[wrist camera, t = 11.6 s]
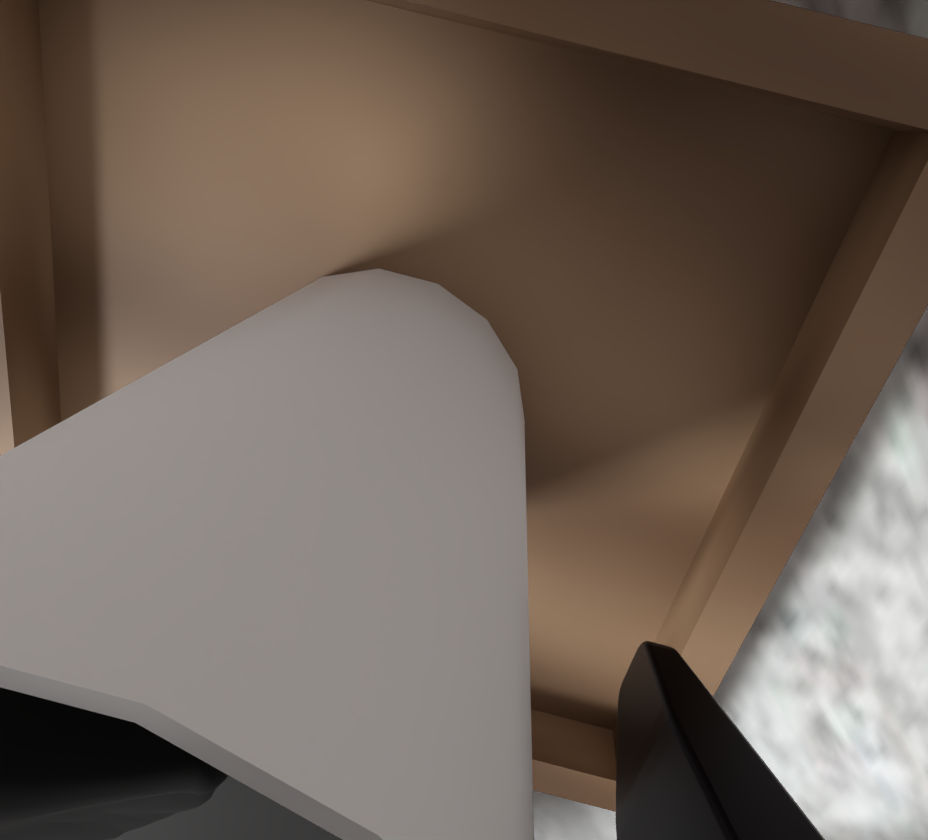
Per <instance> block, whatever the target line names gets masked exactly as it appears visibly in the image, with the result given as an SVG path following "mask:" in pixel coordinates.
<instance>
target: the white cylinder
mask: <svg viewBox="0 0 928 840" xmlns="http://www.w3.org/2000/svg"><path fill="white" fill-rule="evenodd" d="M0 840H534V824H533V780H532V735H531V691H530V647H529V602H528V558H527V514H526V469H525V420H524V413H523V406H522V398H521V391H520V384H519V377H518V370H517V368H516V366H515V364H514V363H513V361H512V360H511V358H510V356H509V355H508V353H507V351H506V350H505V348H504V347H503V345H502V343H501V342H500V340H499V338H498V337H497V335H496V333H495V332H494V330H493V329H492V327H491V325H490V324H489V322H488V320H487V319H485V318H484V317H483V316H481V315H480V314H479V313H477V312H476V311H474V310H473V309H472V308H470V307H469V306H468V305H466V304H465V303H464V302H462V301H461V300H460V299H458V298H457V297H455V296H454V295H453V294H451V293H450V292H449V291H447V290H446V289H445V288H443V287H442V286H440V285H439V284H437V283H433V282H430V281H426V280H422V279H418V278H414V277H410V276H406V275H402V274H399V273H395V272H391V271H387V270H383V269H372V270H365V271H358V272H352V273H345V274H338V275H331V276H324V277H321V278H319V279H318V280H316V281H314V282H312V283H311V284H309V285H307V286H305V287H303V288H302V289H300V290H298V291H296V292H294V293H293V294H291V295H289V296H287V297H285V298H284V299H282V300H280V301H278V302H276V303H275V304H273V305H271V306H269V307H267V308H266V309H264V310H262V311H260V312H258V313H257V314H255V315H253V316H251V317H249V318H247V319H246V320H244V321H242V322H240V323H238V324H237V325H235V326H233V327H231V328H229V329H228V330H226V331H224V332H222V333H220V334H219V335H217V336H215V337H213V338H211V339H210V340H208V341H206V342H204V343H202V344H201V345H199V346H197V347H195V348H193V349H192V350H190V351H188V352H186V353H184V354H183V355H181V356H179V357H177V358H175V359H174V360H172V361H170V362H168V363H166V364H165V365H163V366H161V367H159V368H157V369H156V370H154V371H152V372H150V373H148V374H147V375H145V376H143V377H141V378H139V379H138V380H136V381H134V382H132V383H130V384H129V385H127V386H125V387H123V388H121V389H120V390H118V391H116V392H114V393H112V394H111V395H109V396H107V397H105V398H103V399H102V400H100V401H98V402H96V403H94V404H93V405H91V406H89V407H87V408H85V409H84V410H82V411H80V412H78V413H76V414H75V415H73V416H71V417H69V418H67V419H66V420H64V421H62V422H60V423H58V424H57V425H55V426H53V427H51V428H49V429H48V430H46V431H44V432H42V433H40V434H39V435H37V436H35V437H33V438H31V439H30V440H28V441H26V442H24V443H22V444H21V445H19V446H17V447H15V448H13V449H12V450H10V451H8V452H6V453H4V454H3V455H1V456H0Z"/></svg>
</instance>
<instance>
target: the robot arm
mask: <svg viewBox="0 0 928 840" xmlns="http://www.w3.org/2000/svg"><path fill="white" fill-rule="evenodd" d="M616 833H617V840H825V839H824V838H823V837H822V835H821V834H820V833H819V831H818V830H817V829H816V828H815V826H814V825H813V824H812V823H811V821H810V820H809V819H808V817H807V816H806V815H805V814H804V812H803V811H802V810H801V808H800V807H799V806H798V805H797V803H796V802H795V801H794V799H793V798H792V797H791V796H790V794H789V793H788V792H787V791H786V789H785V788H784V787H783V785H782V784H781V783H780V782H779V780H778V779H777V778H776V776H775V775H774V774H773V773H772V771H771V770H770V769H769V768H768V766H767V765H766V764H765V762H764V761H763V760H762V759H761V757H760V756H759V755H758V753H757V752H756V751H755V750H754V748H753V747H752V746H751V744H750V743H749V742H748V741H747V739H746V738H745V737H744V736H743V734H742V733H741V732H740V730H739V729H738V728H737V727H736V725H735V724H734V723H733V721H732V720H731V719H730V718H729V716H728V715H727V714H726V712H725V711H724V710H723V709H722V707H721V706H720V705H719V704H718V702H717V701H716V700H715V698H714V697H713V696H712V695H711V693H710V692H709V691H708V689H707V688H706V687H705V686H704V684H703V683H702V682H701V681H700V679H699V678H698V677H697V675H696V674H695V673H694V672H693V670H692V669H691V668H690V666H689V665H688V664H687V663H686V661H685V660H684V659H683V657H682V656H681V655H680V654H679V652H678V651H677V650H676V649H674V648H673V647H670V646H666V645H663V644H659V643H655V642H651V641H645V642H642V643H641V644H640V646H639V647H638V649H637V651H636V653H635V655H634V657H633V660H632V662H631V664H630V666H629V668H628V671H627V673H626V675H625V677H624V679H623V682H622V684H621V687H620V691H619V697H618V719H617V763H616Z"/></svg>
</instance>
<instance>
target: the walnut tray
mask: <svg viewBox="0 0 928 840" xmlns="http://www.w3.org/2000/svg"><path fill="white" fill-rule="evenodd" d="M372 269H383V270H387V271H391V272H395V273H399V274H402V275H406V276H410V277H414V278H418V279H422V280H426V281H430V282H433V283H437V284H439V285H440V286H442V287H443V288H445V289H446V290H447V291H449V292H450V293H451V294H453V295H454V296H455V297H457V298H458V299H460V300H461V301H462V302H464V303H465V304H466V305H468V306H469V307H470V308H472V309H473V310H474V311H476V312H477V313H479V314H480V315H481V316H483V317H484V318H485V319H487V320H488V322H489V324H490V325H491V327H492V329H493V330H494V332H495V333H496V335H497V337H498V338H499V340H500V342H501V343H502V345H503V347H504V348H505V350H506V351H507V353H508V355H509V356H510V358H511V360H512V361H513V363H514V364H515V366H516V368H517V370H518V377H519V384H520V391H521V398H522V406H523V413H524V420H525V469H526V514H527V558H528V602H529V647H530V691H531V735H532V780H533V790H535V791H539V792H543V793H546V794H550V795H554V796H558V797H562V798H566V799H569V800H573V801H577V802H581V803H585V804H589V805H592V806H596V807H600V808H604V809H608V810H612V811H615V812H616V763H617V719H618V697H619V691H620V687H621V684H622V682H623V679H624V677H625V675H626V673H627V671H628V668H629V666H630V664H631V662H632V660H633V657H634V655H635V653H636V651H637V649H638V647H639V646H640V644H641V643H642V642H645V641H651V642H655V643H659V644H663V645H666V646H670V647H673V648H674V649H676V650H677V651H678V652H679V654H680V655H681V656H682V657H683V659H684V660H685V661H686V663H687V664H688V665H689V666H690V668H691V669H692V670H693V672H694V673H695V674H696V675H697V677H698V678H699V679H700V681H701V682H702V683H703V684H704V686H705V687H706V688H707V689H708V691H709V692H710V693H711V695H712V696H714V694H715V692H716V690H717V688H718V687H719V685H720V683H721V681H722V679H723V677H724V676H725V674H726V672H727V670H728V668H729V666H730V665H731V663H732V661H733V659H734V657H735V656H736V654H737V652H738V650H739V648H740V646H741V645H742V643H743V641H744V639H745V637H746V635H747V634H748V632H749V630H750V628H751V626H752V625H753V623H754V621H755V619H756V617H757V615H758V614H759V612H760V610H761V608H762V606H763V604H764V603H765V601H766V599H767V597H768V595H769V594H770V592H771V590H772V588H773V586H774V584H775V583H776V581H777V579H778V577H779V575H780V573H781V572H782V570H783V568H784V566H785V564H786V563H787V561H788V559H789V557H790V555H791V553H792V552H793V550H794V548H795V546H796V544H797V542H798V541H799V539H800V537H801V535H802V533H803V532H804V530H805V528H806V526H807V524H808V522H809V521H810V519H811V517H812V515H813V513H814V511H815V510H816V508H817V506H818V504H819V502H820V501H821V499H822V497H823V495H824V493H825V491H826V490H827V488H828V486H829V484H830V482H831V480H832V479H833V477H834V475H835V473H836V471H837V470H838V468H839V466H840V464H841V462H842V460H843V459H844V457H845V455H846V453H847V451H848V449H849V448H850V446H851V444H852V442H853V440H854V439H855V437H856V435H857V433H858V431H859V429H860V428H861V426H862V424H863V422H864V420H865V418H866V417H867V415H868V413H869V411H870V409H871V408H872V406H873V404H874V402H875V400H876V398H877V397H878V395H879V393H880V391H881V389H882V387H883V386H884V384H885V382H886V380H887V378H888V377H889V375H890V373H891V371H892V369H893V367H894V366H895V364H896V362H897V360H898V358H899V356H900V355H901V353H902V351H903V349H904V347H905V346H906V344H907V342H908V340H909V338H910V336H911V335H912V333H913V331H914V329H915V327H916V325H917V324H918V322H919V320H920V318H921V316H922V315H923V313H924V311H925V309H926V307H927V305H928V39H926V38H922V37H918V36H914V35H910V34H906V33H901V32H897V31H893V30H889V29H885V28H881V27H877V26H873V25H869V24H865V23H861V22H857V21H853V20H848V19H844V18H840V17H836V16H832V15H828V14H824V13H820V12H816V11H812V10H808V9H804V8H800V7H795V6H791V5H787V4H783V3H779V2H775V1H771V0H0V456H1V455H3V454H4V453H6V452H8V451H10V450H12V449H13V448H15V447H17V446H19V445H21V444H22V443H24V442H26V441H28V440H30V439H31V438H33V437H35V436H37V435H39V434H40V433H42V432H44V431H46V430H48V429H49V428H51V427H53V426H55V425H57V424H58V423H60V422H62V421H64V420H66V419H67V418H69V417H71V416H73V415H75V414H76V413H78V412H80V411H82V410H84V409H85V408H87V407H89V406H91V405H93V404H94V403H96V402H98V401H100V400H102V399H103V398H105V397H107V396H109V395H111V394H112V393H114V392H116V391H118V390H120V389H121V388H123V387H125V386H127V385H129V384H130V383H132V382H134V381H136V380H138V379H139V378H141V377H143V376H145V375H147V374H148V373H150V372H152V371H154V370H156V369H157V368H159V367H161V366H163V365H165V364H166V363H168V362H170V361H172V360H174V359H175V358H177V357H179V356H181V355H183V354H184V353H186V352H188V351H190V350H192V349H193V348H195V347H197V346H199V345H201V344H202V343H204V342H206V341H208V340H210V339H211V338H213V337H215V336H217V335H219V334H220V333H222V332H224V331H226V330H228V329H229V328H231V327H233V326H235V325H237V324H238V323H240V322H242V321H244V320H246V319H247V318H249V317H251V316H253V315H255V314H257V313H258V312H260V311H262V310H264V309H266V308H267V307H269V306H271V305H273V304H275V303H276V302H278V301H280V300H282V299H284V298H285V297H287V296H289V295H291V294H293V293H294V292H296V291H298V290H300V289H302V288H303V287H305V286H307V285H309V284H311V283H312V282H314V281H316V280H318V279H319V278H321V277H324V276H331V275H338V274H345V273H352V272H358V271H365V270H372Z"/></svg>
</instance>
